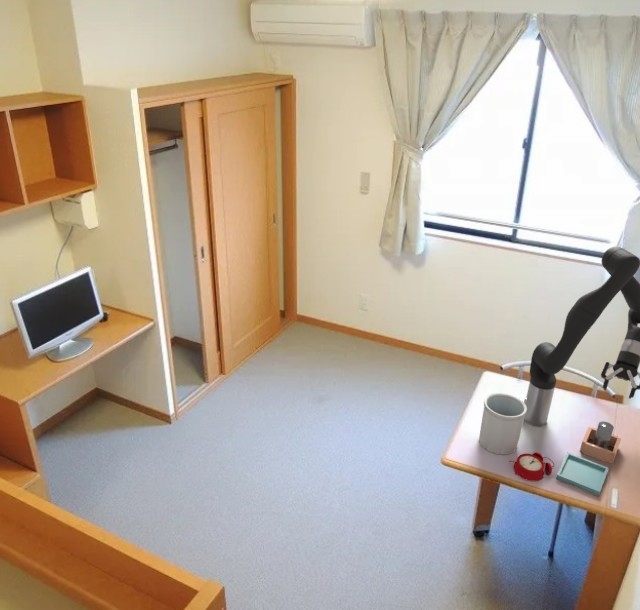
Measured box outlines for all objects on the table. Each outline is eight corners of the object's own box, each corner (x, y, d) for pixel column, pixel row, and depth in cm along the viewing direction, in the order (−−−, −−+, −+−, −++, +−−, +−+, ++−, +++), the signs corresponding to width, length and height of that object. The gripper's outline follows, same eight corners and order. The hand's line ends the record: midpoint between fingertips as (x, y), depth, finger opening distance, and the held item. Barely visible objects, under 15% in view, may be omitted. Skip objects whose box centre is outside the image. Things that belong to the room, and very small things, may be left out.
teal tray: (555, 478, 204) (556, 474, 203) (566, 456, 214) (567, 452, 213) (598, 496, 197) (600, 492, 196) (607, 472, 207) (608, 467, 206)
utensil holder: (484, 424, 229) (491, 387, 221) (522, 438, 223) (531, 400, 215) (472, 446, 218) (478, 408, 210) (512, 461, 211) (521, 422, 203)
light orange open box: (579, 451, 216) (581, 442, 214) (586, 435, 225) (589, 426, 223) (612, 464, 211) (615, 454, 208) (618, 447, 219) (621, 437, 217)
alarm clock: (506, 457, 208) (542, 441, 211) (506, 469, 211) (542, 453, 214) (524, 477, 199) (561, 460, 202) (524, 489, 203) (561, 473, 205)
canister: (590, 450, 217) (597, 426, 212) (593, 443, 221) (600, 419, 216) (604, 455, 214) (612, 432, 209) (607, 448, 218) (614, 424, 213)
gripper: (610, 345, 220) (596, 385, 217) (652, 357, 213) (639, 398, 210) (609, 351, 227) (596, 390, 224) (650, 363, 220) (637, 403, 217)
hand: (617, 394), depth 217 cm, fingers open, 8 cm apart
